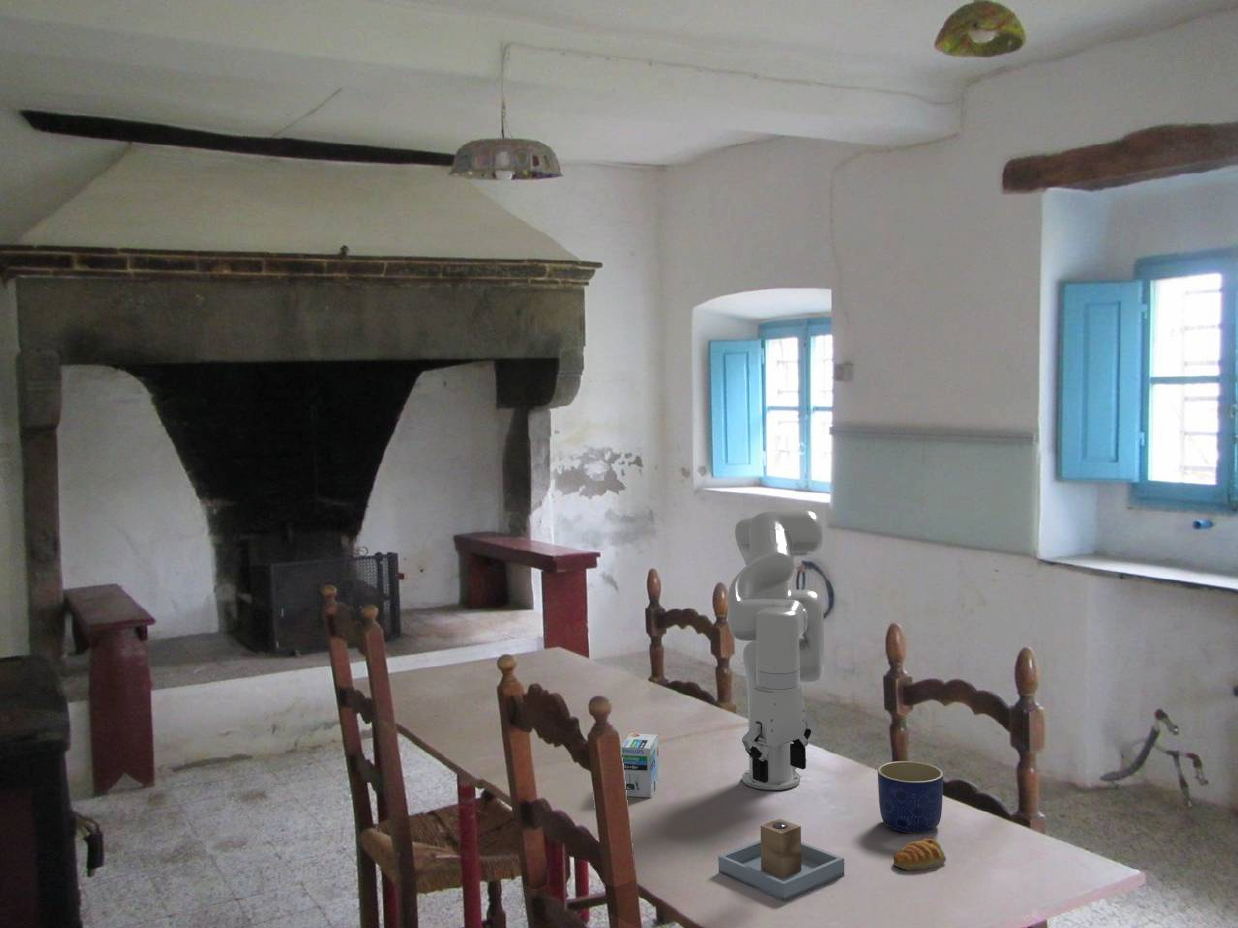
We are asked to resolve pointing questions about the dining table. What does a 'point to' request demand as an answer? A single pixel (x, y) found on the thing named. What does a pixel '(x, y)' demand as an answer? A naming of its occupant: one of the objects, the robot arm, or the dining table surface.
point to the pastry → (920, 855)
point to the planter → (910, 796)
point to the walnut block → (780, 848)
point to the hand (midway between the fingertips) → (779, 773)
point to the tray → (748, 871)
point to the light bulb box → (641, 764)
